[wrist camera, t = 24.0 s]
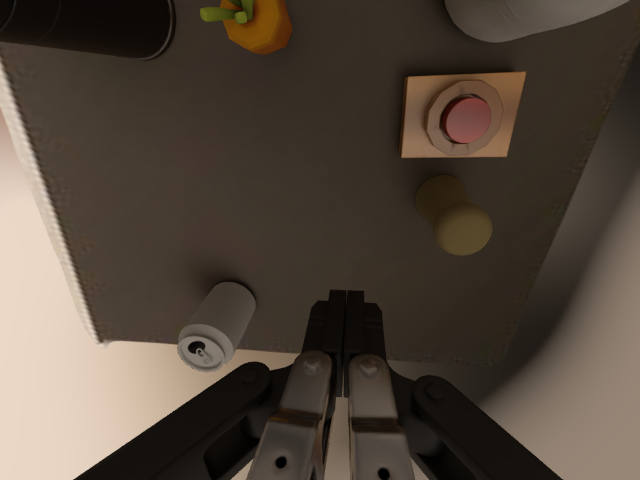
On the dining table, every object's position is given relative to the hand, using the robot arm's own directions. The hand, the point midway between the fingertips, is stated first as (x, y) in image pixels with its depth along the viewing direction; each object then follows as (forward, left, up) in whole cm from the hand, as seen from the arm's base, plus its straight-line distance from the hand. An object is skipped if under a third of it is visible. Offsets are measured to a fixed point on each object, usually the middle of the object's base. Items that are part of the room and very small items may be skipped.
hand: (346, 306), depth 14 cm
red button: (+11, +6, -23) cm, 26 cm away
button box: (+10, +6, -27) cm, 29 cm away
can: (-19, -21, -27) cm, 39 cm away
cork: (+10, -4, -27) cm, 29 cm away
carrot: (-8, +14, -27) cm, 32 cm away
